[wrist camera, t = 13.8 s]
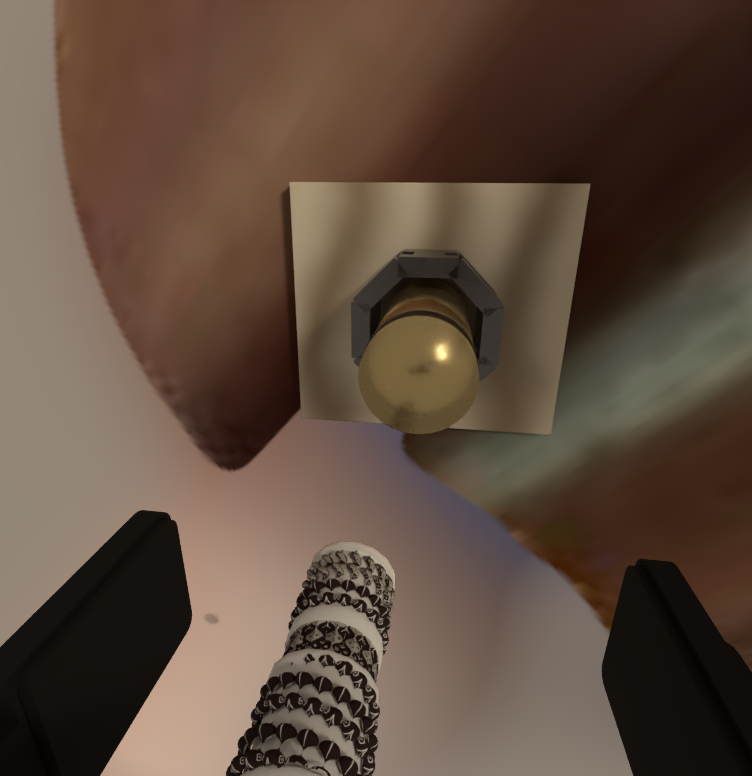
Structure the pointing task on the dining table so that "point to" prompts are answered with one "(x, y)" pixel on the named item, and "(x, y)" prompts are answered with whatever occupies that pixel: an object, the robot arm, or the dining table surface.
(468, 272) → the ring
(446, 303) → the gold cylinder
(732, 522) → the dining table surface
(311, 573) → the decorative candle
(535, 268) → the board
